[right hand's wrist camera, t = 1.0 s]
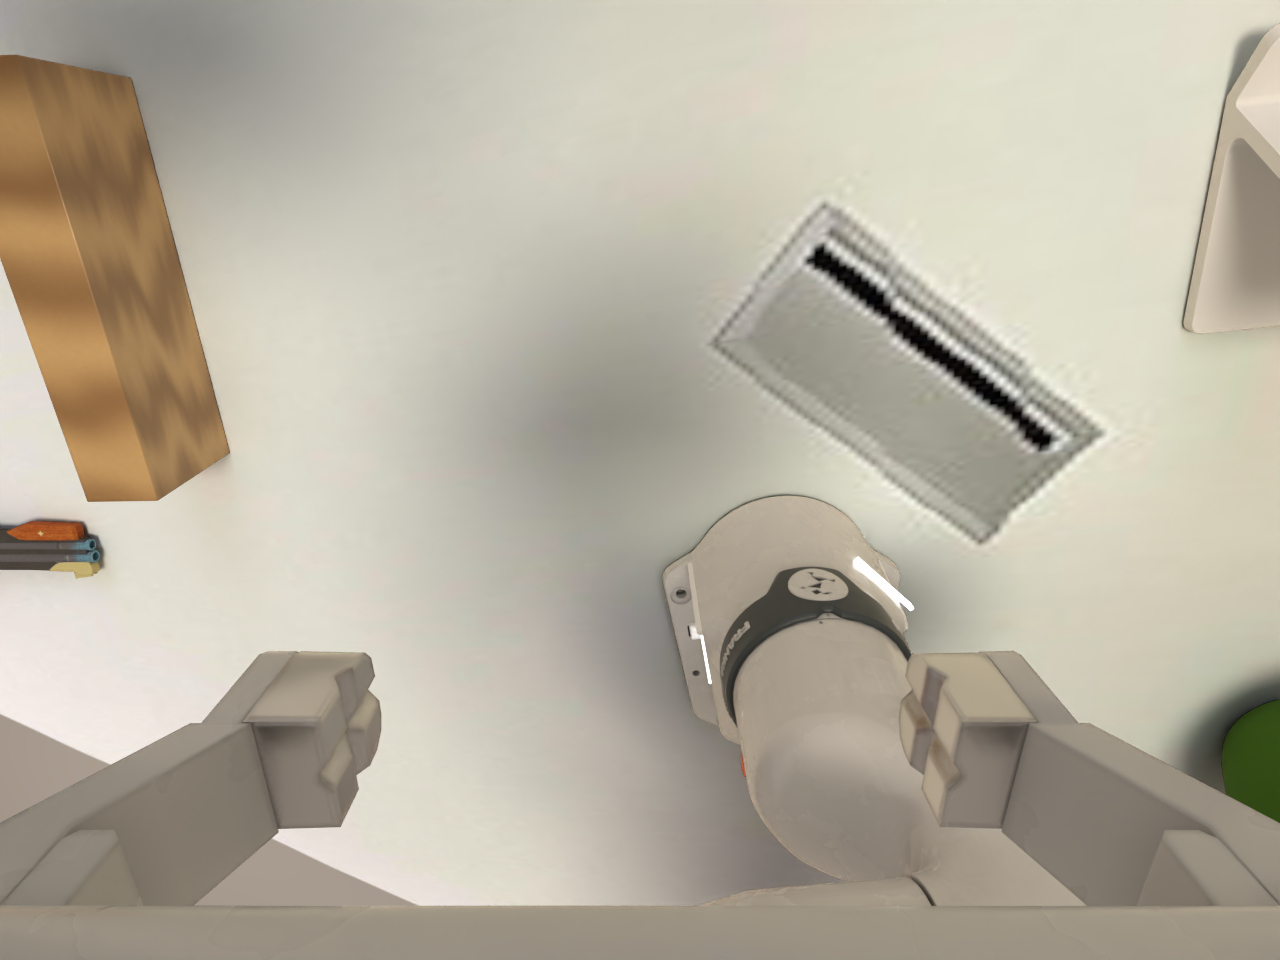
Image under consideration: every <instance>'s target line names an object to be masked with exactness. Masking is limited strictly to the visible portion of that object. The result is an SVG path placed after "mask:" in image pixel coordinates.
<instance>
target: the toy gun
mask: <svg viewBox="0 0 1280 960" xmlns="http://www.w3.org/2000/svg"><path fill="white" fill-rule="evenodd" d="M95 548H96V541H95V539H90V537H85V535H84V530H83V527H82V525H81V524H80V523H67V522H42V521H31V522H28V523H25V524H23V525H21V526H18V527H16V528H13V529H0V570H49V571H71V572H74V573H75V577H76V578H82V577H89V576H93V574H95V573H98V571H99V570H100V569H99V564H98V561H99V559H100V553H99V551H97V550H94V549H95Z"/></svg>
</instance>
